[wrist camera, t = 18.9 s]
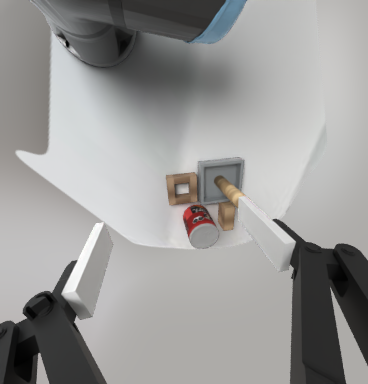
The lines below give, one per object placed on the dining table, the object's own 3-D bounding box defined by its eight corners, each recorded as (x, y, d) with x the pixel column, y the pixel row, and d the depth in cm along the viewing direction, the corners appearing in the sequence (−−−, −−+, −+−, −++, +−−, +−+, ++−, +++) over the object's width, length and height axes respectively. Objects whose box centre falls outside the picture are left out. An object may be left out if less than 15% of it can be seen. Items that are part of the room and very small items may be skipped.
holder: (166, 175, 46) (166, 178, 44) (194, 172, 47) (196, 175, 45) (168, 201, 49) (169, 205, 47) (195, 197, 50) (197, 201, 48)
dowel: (214, 176, 48) (238, 199, 34) (224, 174, 48) (253, 197, 35) (213, 186, 49) (237, 212, 36) (224, 185, 50) (251, 210, 36)
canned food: (211, 209, 53) (225, 230, 43) (197, 228, 55) (207, 252, 45) (191, 199, 50) (201, 220, 41) (178, 219, 53) (184, 244, 43)
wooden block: (218, 200, 52) (225, 208, 48) (228, 199, 53) (235, 206, 48) (218, 221, 56) (223, 231, 51) (226, 220, 56) (233, 229, 51)
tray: (197, 161, 46) (200, 164, 43) (238, 157, 47) (244, 159, 45) (198, 200, 51) (201, 205, 48) (235, 195, 52) (240, 199, 50)
